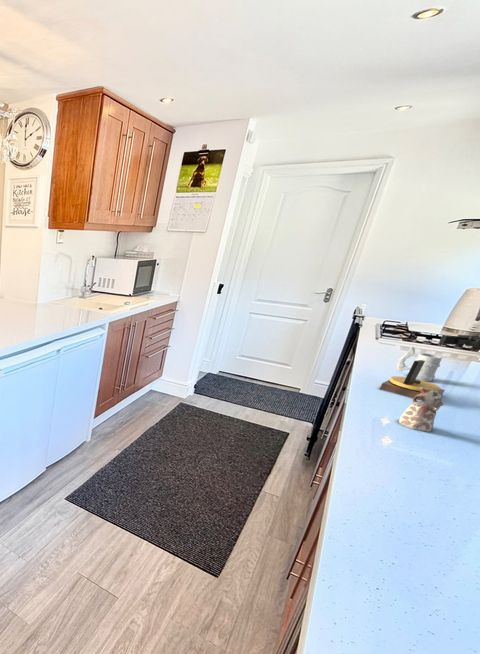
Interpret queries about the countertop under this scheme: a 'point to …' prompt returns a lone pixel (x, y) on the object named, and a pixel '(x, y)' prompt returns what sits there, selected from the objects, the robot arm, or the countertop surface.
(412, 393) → the wheel base
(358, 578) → the countertop surface
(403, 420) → the figurine
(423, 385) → the wheel
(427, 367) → the mug
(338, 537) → the countertop surface
